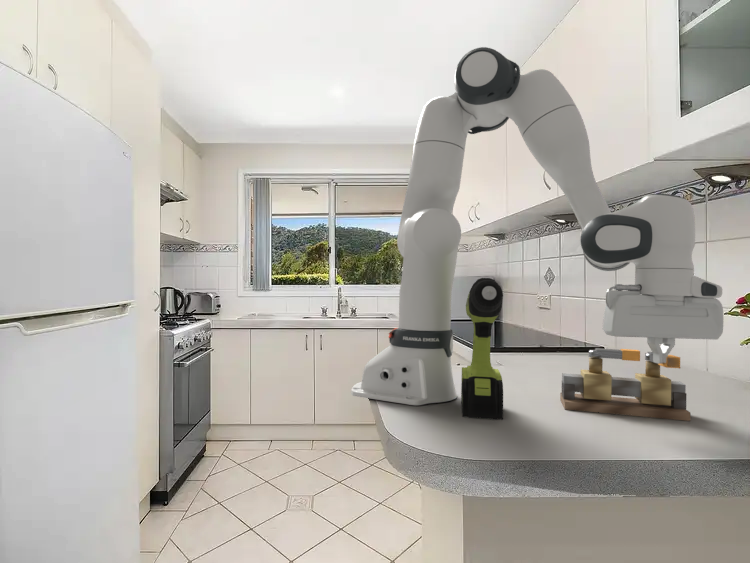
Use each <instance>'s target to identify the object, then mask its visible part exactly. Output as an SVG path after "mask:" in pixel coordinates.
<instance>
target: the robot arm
mask: <svg viewBox="0 0 750 563" xmlns="http://www.w3.org/2000/svg"><path fill="white" fill-rule="evenodd" d="M454 72H455V73H454V81H453V82H454V83H453V84H454V89H455V92H454V93H452V94H451V95H448V96H438V97H437V96H436V97H434V98H431V99H430V100H429V101H427V102H426V104H424V106H423V108H422V110H421V114H420V116H419V120H418V123H417V127H416V131H415V134H414V135H415V137H414V140H413V148H412V154H411V160H410V168H409V175H408V182H407V188H406V191H405V192H406V193H405V197H404V200H403V205H402V211H401V217H400V220H399V221H400V222H399V226H398V232H397V238H396V240H397V241H396V244H397V245H396V246H397V249H398V252H399V254H400V255H401V257H402V258H403V261H402V262H403V263H402V272H401V280H400V288H399V293H398V294H399V301H398V327H395V328H393V329H392V330H391V331H389V333H388V340H389V343H390V344H389V345H388V346H387V347H386V348H384V349H383V350H381V351H380V352H378V354H376V355H374V356H373V357H372V358H371V359H370V360H368V361H367V362H366V364H365V366H364V369H363V370H362V371H363V372H362V376H361V381H360V382H357V383H355V384H354V385H353V386H352V387H351V391H350V394H351V396H353V397H359V398H363V399H364V398H365V399H371V400H378V401H384V402H390V403H397V404H403V405H410V406H423V405H427V404H436V403H445V402H450V401H452V400H455V399H456V398H457V397H458V394H457V391H456V387H455V386H456V385H455V382H454V376H453V375H454V374H453V369H452V367H453V365H452V356H453V350H454V336H453V329H451V323H452V322H451V321H452V320H451V318H452V314H451V313H452V290H453V284H454V278H455V273H456V266H457V259H458V252H459V246H460V242H461V238H462V229H461V228H462V227H461V225H460V223H459V220H458V219H457V218H456V216H455V215H454V214H453V210H454V207H455V203H456V199H457V196H458V193H459V192H460V191H459V190H460V187H461V179H462V173H463V166H464V159H465V151H466V150H465V149H466V143H467V137H468V134H470V135H475V134H480V133H483V132H485V133H486V132H492V131H496V130H498V129H501V127H503V126H504V125H505V124H506V123H507V122H508V121H509V119H510V120H511V121H513V123H514V124H515V125H516V127H517V128H518V130H519V132H520V135H521V138H522V139H523V141H524V143H525V146H526V147H527V148H528V150H529V151H530V153H531V154H532V156H533V158H534V159H535V160H536V162H537V163H538V164H539V165H540V166H541V167H542V168H543V170H544V171H545V172H546V173H547V174H548V175H549V176H550V177H551V179H553V181H554V182H555V183H556V185H558V186H559V188H560V190H561V191H562V192H563V194H564V196H565V198H566V200H567V202H568V204H569V205H570V208H571V210H572V212H573V213H574V216H575V217H576V220H577V222H578V224H579V226H580V230H581V235H580V245H581V246H580V247H581V250H582V252H583V256H584V258H585V260H586V261H587V262H588V264H589V265H591V266H592V267H594V268H595V269H597V270H600V271H605V272H613V271H618V270H621V269H624V268H625V267H627V266H628V265H630V263H632V264H634V266H635V269H634V284H622V283H617V284H614V285H612V286H611V287H610V288H608V289H607V291H606V292H605V307H604V310H603V311H604V312H603V319H602V330H603V332H604V333H605V334H606V336H612V337H617V338H618V337H621V338H647V340H646V344H647V345H648V347H649V349H650V352H653V362H654V363H658V364H666V358H667V357H668V355H670V353H671V351H672V350H673V349H674V347H675V345H676V339H683V340H684V339H685V340H686V339H687V340H688V339H690V340H713V341H714V340H719V339H720V337H721V336H722V335H723V333H724V307H723V304H722V302H721V301H720V300H719V299H718V298H721V297H722V295H723V287H722V286H721V285H719V284H716V283H714V282H712V281H708V280H706V279H704V278H701V277H699V276H696V275H695V264H694V263H693V256H692V255H693V251H694V248H695V246H696V221H695V220H696V219H695V212H694V211H695V210H694V208H693V205H692V204H691V202H690V201H689V200H688V199H686V198H684V197H682V196H679V195H675V194H669V193H652V194H648V195H645V196H643V197H642V198H641V199H639V200H638V201H636V202H634V203H632V204H629V205H628V206H626V207H623V208H621V209H619V210H616V211H611V209H610V207H609V205H608V203H607V201H606V199H605V197H604V196H603V193H602V191H601V190H600V187H599V185H598V183H597V181H596V178H595V175H594V171H593V169H592V168H593V167H592V160H591V150H590V149H591V148H590V147H591V146H590V140H589V135H588V132H587V129H586V126H585V122H584V119H583V117H582V115H581V113H580V111H579V109H578V107H577V105H576V103H575V101H574V100H573V98H572V96H571V94H570V93H569V91H568V90H567V89H566V88H565V86H564V85H563V83H562V82H561V81H560V80H559V79H558V78H557V77H556V75H554V73H552V71H550V70H547V69H541V68H540V69H539V68H538V69H535V70H531V71H529V72H527V73H525V74H521V69H520V66H519V64H517V63H516V62H515V61H513V60H511V59H508V58H507V57H506V56H504V55H503V54H502V53H501V52H500V51H497V50H496V49H493V48H491V47H486V46H482V47H481V46H480V47H477V48H473V49H471V50H469V51H468V52H467V53H465V54H464V55H463V56H462V58H461V59H460V60H459V62H458V63H457V66H456V68H455V71H454Z"/></svg>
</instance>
